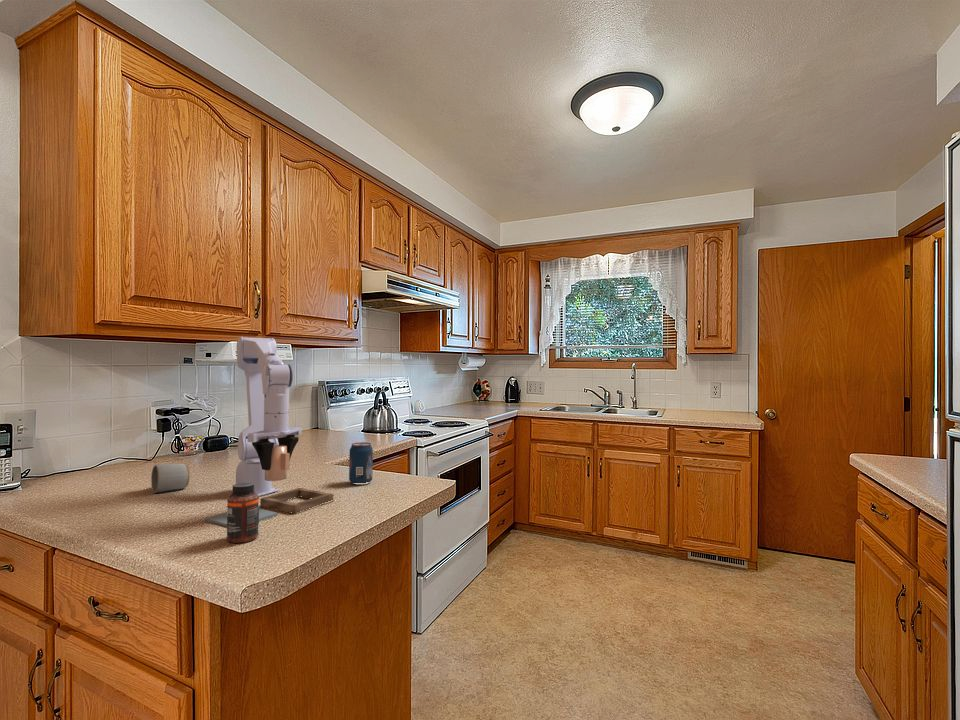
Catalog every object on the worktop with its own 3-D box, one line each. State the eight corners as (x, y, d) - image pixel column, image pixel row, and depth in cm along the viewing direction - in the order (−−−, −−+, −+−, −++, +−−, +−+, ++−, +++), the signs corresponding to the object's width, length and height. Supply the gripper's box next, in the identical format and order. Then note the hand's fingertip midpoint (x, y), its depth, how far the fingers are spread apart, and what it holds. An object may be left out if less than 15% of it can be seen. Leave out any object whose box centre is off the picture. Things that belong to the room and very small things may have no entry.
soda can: (351, 480, 150) (351, 442, 150) (373, 480, 151) (374, 442, 151) (347, 486, 143) (347, 445, 143) (370, 485, 144) (371, 445, 144)
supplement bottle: (263, 533, 102) (264, 480, 103) (251, 544, 97) (252, 487, 97) (235, 533, 102) (236, 480, 102) (220, 544, 96) (222, 487, 96)
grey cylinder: (191, 490, 136) (191, 462, 137) (157, 495, 130) (157, 466, 131) (179, 484, 144) (180, 458, 144) (147, 488, 138) (147, 462, 138)
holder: (260, 506, 122) (260, 498, 122) (299, 494, 133) (299, 487, 133) (295, 514, 116) (295, 505, 116) (333, 501, 127) (333, 493, 127)
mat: (204, 520, 110) (204, 518, 110) (247, 508, 120) (247, 506, 120) (235, 529, 105) (235, 526, 105) (277, 515, 115) (277, 512, 115)
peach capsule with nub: (260, 479, 118) (260, 446, 118) (276, 475, 123) (277, 444, 123) (278, 482, 115) (279, 449, 115) (295, 478, 120) (295, 446, 120)
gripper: (262, 416, 111) (261, 475, 111) (310, 411, 124) (309, 464, 124) (242, 414, 114) (241, 471, 114) (291, 409, 127) (290, 461, 127)
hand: (275, 467), depth 119 cm, fingers closed on peach capsule with nub, 5 cm apart
